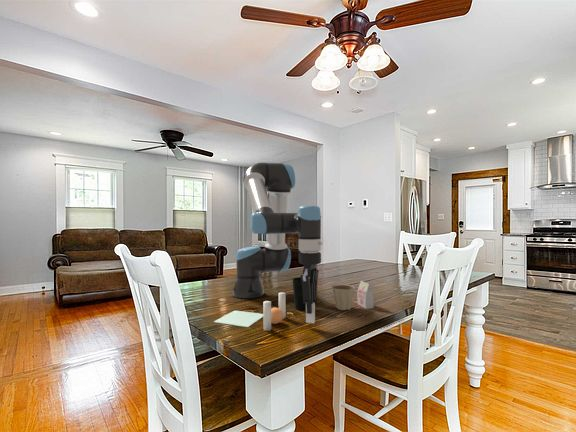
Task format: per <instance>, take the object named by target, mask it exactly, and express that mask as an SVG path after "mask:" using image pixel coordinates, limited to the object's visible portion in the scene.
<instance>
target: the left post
mask: <svg viewBox="0 0 576 432" xmlns="http://www.w3.org/2000/svg"><path fill="white" fill-rule="evenodd" d="M262 303H263V305H262V307H263V309H262V311H263V313H262V314H263V317H262V320H263V321H262V322H263V323H262V324H263V327H262V328H263V331H266V332H267V331H269V332H270V331H271V330H272V323H271V308H272V301H271V300H270V301H269V300H265V301H263V302H262Z"/></svg>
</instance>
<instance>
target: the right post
mask: <svg viewBox="0 0 576 432" xmlns="http://www.w3.org/2000/svg"><path fill="white" fill-rule="evenodd" d="M286 300H287V299H286V292H284V291H283V292H278V308H279V309H280V310H281V311H282V313H283V318H282V320H284V319H286V317H287V314H286V313H287V312H286V306H287V305H286Z"/></svg>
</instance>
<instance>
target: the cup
mask: <svg viewBox="0 0 576 432" xmlns="http://www.w3.org/2000/svg"><path fill="white" fill-rule="evenodd" d="M291 281H292V290H293V300H294V308H295V310H296V311H306V303H303V292H302V282H301V276H300V277H292V279H291Z"/></svg>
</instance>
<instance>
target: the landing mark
mask: <svg viewBox="0 0 576 432" xmlns="http://www.w3.org/2000/svg"><path fill="white" fill-rule="evenodd" d="M261 319H263V313H257V312H251V311H244V310H243V311H241V310H233V311H231V312H229V313H227V314H225V315H224V316H222V317H220V318H218V319H216V320H214V321H213V323H216V324H221V325H222V324H223V325H230V326H237V327H243V328H249V327H251V326H252V325H253V324H255V323H257V322H258V321H259V320H261Z"/></svg>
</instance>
